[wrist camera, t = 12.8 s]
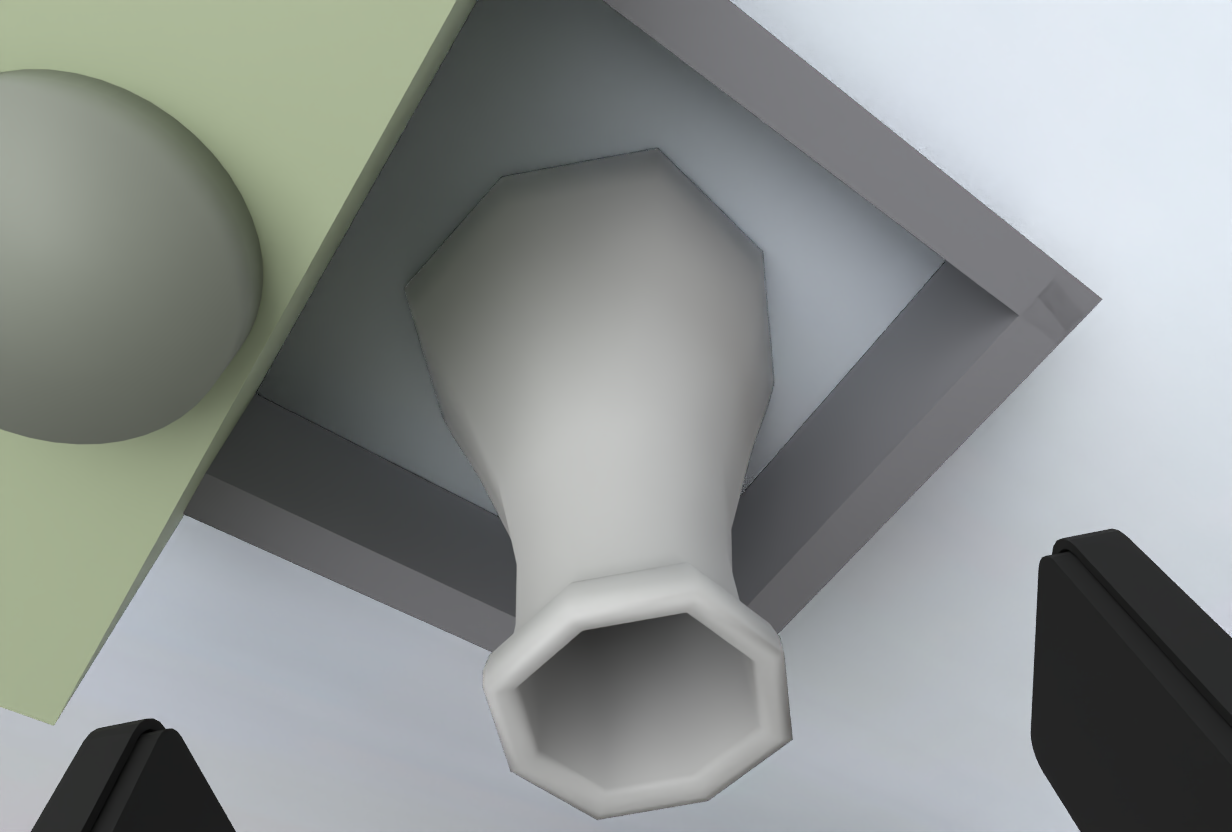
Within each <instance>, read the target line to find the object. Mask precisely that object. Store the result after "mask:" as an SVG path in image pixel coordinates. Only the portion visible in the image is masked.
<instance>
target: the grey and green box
mask: <svg viewBox="0 0 1232 832" xmlns="http://www.w3.org/2000/svg"><path fill="white" fill-rule="evenodd" d="M603 1H604V2H605V3H607V4H608V5H609V6H611V7H612V8H613V9H615V10H616V11H617V12H619V13H620V14H621V15H622V16H624V17H625V18H626V19H628V20H629V21H630V22H632V23H633V24H634V25H636V26H637V27H638V28H640V29H641V30H642V31H644V32H645V33H646V34H648V35H649V36H650V37H652V38H653V39H654V40H656V41H657V42H658V43H660V44H661V45H662V46H663V47H665V48H666V49H667V50H669V51H670V52H671V53H673V54H674V55H675V56H677V57H678V58H679V59H681V60H682V61H683V62H685V63H686V64H687V65H689V66H690V67H691V68H693V69H694V70H695V71H697V72H698V73H699V74H701V75H702V76H703V77H704V78H706V79H707V80H708V81H710V82H711V83H712V84H714V85H715V86H716V87H718V88H719V89H720V90H722V91H723V92H724V93H726V94H727V95H728V96H730V97H731V98H732V99H734V100H735V101H736V102H738V103H739V104H740V105H742V106H743V107H744V108H745V109H747V110H748V111H749V112H751V113H752V114H753V115H755V116H756V117H757V118H759V119H760V120H761V121H763V122H764V123H765V124H767V125H768V126H769V127H771V128H772V129H773V130H775V131H776V132H777V133H779V134H780V135H781V136H782V137H784V138H785V139H786V140H788V141H789V142H790V143H792V144H793V145H794V146H796V147H797V148H798V149H800V150H801V151H802V152H804V153H805V154H806V155H808V156H809V157H810V158H812V159H813V160H814V161H816V162H817V163H818V164H820V165H821V166H822V167H823V168H825V169H826V170H827V171H829V172H830V173H831V174H833V175H834V176H835V177H837V178H838V179H839V180H841V181H842V182H843V183H845V184H846V185H847V186H849V187H850V188H851V189H853V190H854V191H855V192H857V193H858V194H859V195H861V196H862V197H863V198H864V199H866V200H867V201H868V202H870V203H871V204H872V205H874V206H875V207H876V208H878V209H879V210H880V211H882V212H883V213H884V214H886V215H887V216H888V217H890V218H891V219H892V220H894V221H895V222H896V223H898V224H899V225H900V226H902V227H903V228H904V229H905V230H907V231H908V232H909V233H911V234H912V235H913V236H915V237H916V238H917V239H919V240H920V241H921V242H923V243H924V244H925V245H927V246H928V247H929V248H931V249H932V250H933V251H935V252H936V253H937V254H939V255H940V256H941V257H942V258H944V259H945V260H946V261H945V263H944V264H943V265H942V266H941V267H940V268H939V269H938V271H937V272H936V273H935V274H934V275H933V276H932V277H931V279H930V280H929V281H928V282H927V283H926V284H925V285H924V287H923V288H922V289H921V290H920V291H919V292H918V294H917V295H916V296H915V297H914V298H913V299H912V300H911V302H910V303H909V304H908V305H907V306H906V307H905V308H904V310H903V311H902V312H901V313H900V314H899V315H898V316H897V318H896V319H895V320H894V321H893V322H892V323H891V324H890V326H889V327H888V328H887V329H886V330H885V331H884V332H883V334H882V335H881V336H880V337H879V338H878V339H877V340H876V342H875V343H874V344H873V345H872V346H871V347H870V348H869V350H868V351H867V352H866V353H865V354H864V355H863V357H862V358H861V359H860V360H859V361H858V362H857V363H856V365H855V366H854V367H853V368H852V369H851V370H850V371H849V373H848V374H847V375H846V376H845V377H844V378H843V379H842V381H841V382H840V383H839V384H838V385H837V386H836V387H835V389H834V390H833V391H832V392H831V393H830V394H829V395H828V397H827V398H826V399H825V400H824V401H823V402H822V403H821V405H820V406H819V407H818V408H817V409H816V410H815V411H814V413H813V414H812V415H811V416H810V417H809V418H808V420H807V421H806V422H805V423H804V424H803V425H802V426H801V428H800V429H799V430H798V431H797V432H796V433H795V434H794V436H793V437H792V438H791V439H790V440H789V441H788V442H787V444H786V445H785V446H784V447H783V448H782V449H781V450H780V452H779V453H778V454H777V455H776V456H775V457H774V458H773V460H772V461H771V462H770V463H769V464H768V465H767V466H766V468H765V469H764V470H763V471H762V472H761V473H760V474H759V476H758V477H757V478H756V479H755V480H754V481H753V483H752V484H751V485H750V486H749V487H748V488H747V489H746V491H745V492H744V493H743V494H742V495H741V496H740V498H739V502H738V505H737V509H736V513H735V517H734V521H733V525H732V529H731V537H732V573H733V577H734V581H735V585H736V589H737V592H738V596H739V600H740V602H742V603H743V604H744V605H746V606H747V607H748V608H750V609H751V610H752V611H754V612H755V613H756V614H758V615H759V616H760V617H762V618H763V619H764V620H766V621H767V622H768V623H770V624H771V626H772V627H773V629H774V630H775V631H776V633H777V634H778V633H779V632H780V631H781V630H782V629H783V628H784V627H785V626H786V625H787V624H788V623H789V622H790V621H791V620H792V619H793V618H794V617H795V616H796V615H797V614H798V613H799V612H800V611H801V609H802V608H803V607H804V606H805V605H806V604H807V603H808V602H809V601H810V600H811V599H812V598H813V597H814V596H815V595H816V594H817V593H818V592H819V591H820V590H821V589H822V588H823V587H824V586H825V585H826V584H827V583H828V582H829V581H830V580H831V579H832V578H833V577H834V575H835V574H836V573H837V572H838V571H839V570H840V569H841V568H842V567H843V566H844V565H845V564H846V563H847V562H848V561H849V560H850V559H851V558H852V557H853V556H854V555H855V554H856V553H857V552H858V551H859V550H860V549H861V548H862V547H863V546H864V545H865V544H866V542H867V541H868V540H869V539H870V538H871V537H872V536H873V535H874V534H875V533H876V532H877V531H878V530H879V529H880V528H881V527H882V526H883V525H884V524H885V523H886V522H887V521H888V520H889V519H890V518H891V517H892V516H893V515H894V514H895V513H896V512H897V511H898V510H899V508H900V507H901V506H902V505H903V504H904V503H905V502H906V501H907V500H908V499H909V498H910V497H911V496H912V495H913V494H914V493H915V492H916V491H917V490H918V489H919V488H920V487H921V486H922V485H923V484H924V483H925V482H926V481H927V480H928V479H929V478H930V477H931V475H932V474H933V473H934V472H935V471H936V470H937V469H938V468H939V467H940V466H941V465H942V464H943V463H944V462H945V461H946V460H947V459H948V458H949V457H950V456H951V455H952V454H953V453H954V452H955V451H956V450H957V449H958V448H959V447H960V446H961V445H962V444H963V443H964V441H965V440H966V439H967V438H968V437H969V436H970V435H971V434H972V433H973V432H974V431H975V430H976V429H977V428H978V427H979V426H980V425H981V424H982V423H983V422H984V421H985V420H986V419H987V418H988V417H989V416H990V415H991V414H992V413H993V412H994V411H995V410H996V408H997V407H998V406H999V405H1000V404H1001V403H1002V402H1003V401H1004V400H1005V399H1006V398H1007V397H1008V396H1009V395H1010V394H1011V393H1012V392H1013V391H1014V390H1015V389H1016V388H1017V387H1018V386H1019V385H1020V384H1021V383H1022V382H1023V381H1024V380H1025V379H1026V378H1027V377H1028V376H1029V374H1030V373H1031V372H1032V371H1033V370H1034V369H1035V368H1036V367H1037V366H1038V365H1039V364H1040V363H1041V362H1042V361H1043V360H1044V359H1045V358H1046V357H1047V356H1048V355H1049V354H1050V353H1051V352H1052V351H1053V350H1054V349H1055V348H1056V347H1057V346H1058V345H1059V344H1060V343H1061V341H1062V340H1063V339H1064V338H1065V337H1066V336H1067V335H1068V334H1069V333H1070V332H1071V331H1072V330H1073V329H1074V328H1075V327H1076V326H1077V325H1078V324H1079V323H1080V322H1081V321H1082V320H1083V319H1084V318H1085V317H1086V316H1087V315H1088V314H1089V313H1090V312H1091V311H1092V310H1093V309H1094V307H1095V306H1096V305H1097V304H1098V303H1099V302H1100V301H1101V300H1102V298H1100V297H1099V296H1098V295H1097V294H1095V293H1094V292H1093V291H1092V290H1090V289H1089V288H1088V287H1087V286H1085V285H1084V284H1083V283H1082V282H1080V281H1079V280H1078V279H1077V278H1075V277H1074V276H1073V275H1072V274H1070V273H1069V272H1068V271H1067V270H1065V269H1064V268H1063V267H1062V266H1060V265H1059V264H1058V263H1057V262H1055V261H1054V260H1053V259H1052V258H1050V257H1049V256H1048V255H1047V254H1045V253H1044V252H1043V251H1042V250H1040V249H1039V248H1038V247H1037V246H1035V245H1034V244H1033V243H1032V242H1030V241H1029V240H1028V239H1027V238H1025V237H1024V236H1023V235H1022V234H1020V233H1019V232H1018V231H1017V230H1015V229H1014V228H1013V227H1012V226H1010V225H1009V224H1008V223H1007V222H1005V221H1004V220H1003V219H1002V218H1000V217H999V216H998V215H997V214H995V213H994V212H993V211H992V210H990V209H989V208H988V207H987V206H985V205H984V204H983V203H982V202H980V201H979V200H978V199H977V198H975V197H974V196H973V195H972V194H971V193H969V192H968V191H967V190H966V189H964V188H963V187H962V186H961V185H959V184H958V183H957V182H956V181H954V180H953V179H952V178H951V177H949V176H948V175H947V174H946V173H944V172H943V171H942V170H941V169H939V168H938V167H937V166H936V165H934V164H933V163H932V162H931V161H929V160H928V159H927V158H926V157H924V156H923V155H922V154H921V153H919V152H918V151H917V150H916V149H914V148H913V147H912V146H911V145H909V144H908V143H907V142H906V141H904V140H903V139H902V138H901V137H899V136H898V135H897V134H896V133H894V132H893V131H892V130H891V129H889V128H888V127H887V126H886V125H884V124H883V123H882V122H881V121H879V120H878V119H877V118H876V117H874V116H873V115H872V114H871V113H869V112H868V111H867V110H866V109H864V108H863V107H862V106H861V105H859V104H858V103H857V102H856V101H854V100H853V99H852V98H851V97H849V96H848V95H847V94H846V93H844V92H843V91H842V90H841V89H839V88H838V87H837V86H836V85H834V84H833V83H832V82H831V81H829V80H828V79H827V78H826V77H824V76H823V75H822V74H821V73H819V72H818V71H817V70H816V69H814V68H813V67H812V66H811V65H809V64H808V63H807V62H806V61H804V60H803V59H802V58H801V57H799V56H798V55H797V54H796V53H794V52H793V51H792V50H791V49H789V48H788V47H787V46H786V45H784V44H783V43H782V42H781V41H779V40H778V39H777V38H776V37H775V36H773V35H772V34H771V33H770V32H768V31H767V30H766V29H765V28H763V27H762V26H761V25H760V24H758V23H757V22H756V21H755V20H753V19H752V18H751V17H750V16H748V15H747V14H746V13H745V12H743V11H742V10H741V9H740V8H738V7H737V6H736V5H735V4H733V3H732V2H731V1H730V0H603ZM476 2H477V0H0V707H2V708H5V709H8V710H11V711H14V712H17V713H19V714H22V715H25V716H28V717H31V718H34V719H36V720H39V721H42V722H45V723H48V724H51V725H55V723H56V721H57V720H58V718H59V717H60V715H61V713H62V712H63V710H64V708H65V707H66V705H67V704H68V702H69V700H70V699H71V697H72V695H73V694H74V692H75V691H76V689H77V687H78V686H79V684H80V683H81V681H82V679H83V678H84V676H85V674H86V673H87V671H88V670H89V668H90V666H91V665H92V663H93V662H94V660H95V658H96V657H97V655H98V653H99V652H100V650H101V649H102V647H103V645H104V644H105V642H106V640H107V639H108V637H109V636H110V634H111V632H112V631H113V629H114V628H115V626H116V624H117V623H118V621H119V619H120V618H121V616H122V615H123V613H124V611H125V610H126V608H127V607H128V605H129V603H130V602H131V600H132V598H133V597H134V595H135V594H136V592H137V590H138V589H139V587H140V585H141V584H142V582H143V581H144V579H145V577H146V576H147V574H148V573H149V571H150V569H151V568H152V566H153V564H154V563H155V561H156V560H157V558H158V556H159V555H160V553H161V552H162V550H163V548H164V547H165V545H166V543H167V542H168V540H169V539H170V537H171V535H172V534H173V532H174V530H175V529H176V527H177V526H178V524H179V522H180V521H181V519H182V518H183V516H184V514H185V515H187V516H189V517H191V518H194V519H196V520H198V521H200V522H203V523H205V524H207V525H209V526H212V527H214V528H216V529H218V530H221V531H223V532H225V533H227V534H229V535H232V536H234V537H236V538H238V539H241V540H243V541H245V542H247V543H250V544H252V545H254V546H256V547H258V548H261V549H263V550H265V551H267V552H270V553H272V554H274V555H276V556H279V557H281V558H283V559H285V560H288V561H290V562H292V563H294V564H296V565H299V566H301V567H303V568H305V569H308V570H310V571H312V572H314V573H317V574H319V575H321V576H323V577H326V578H328V579H330V580H332V581H334V582H337V583H339V584H341V585H343V586H346V587H348V588H350V589H352V590H355V591H357V592H359V593H361V594H364V595H366V596H368V597H370V598H372V599H375V600H377V601H379V602H381V603H384V604H386V605H388V606H390V607H393V608H395V609H397V610H399V611H402V612H404V613H406V614H408V615H410V616H413V617H415V618H417V619H419V620H422V621H424V622H426V623H428V624H431V625H433V626H435V627H437V628H439V629H442V630H444V631H446V632H448V633H451V634H453V635H455V636H457V637H460V638H462V639H464V640H466V641H469V642H471V643H473V644H475V645H477V646H480V647H482V648H484V649H486V650H489V651H491V652H493V651H494V650H496V649H497V648H498V647H499V646H500V645H501V644H502V643H503V642H505V641H506V640H507V639H508V638H509V637H510V636H511V635H512V634H514V629H515V625H516V580H517V563H516V559H515V554H514V550H513V546H512V541H511V538H510V536H509V534H508V532H507V531H506V529H505V527H504V525H503V523H502V521H501V519H500V517H498V516H496V515H494V514H492V513H490V512H488V511H486V510H484V509H482V508H480V507H478V506H476V505H474V504H472V503H470V502H468V501H466V500H464V499H462V498H460V497H458V496H456V495H454V494H452V493H450V492H448V491H446V490H444V489H442V488H440V487H438V486H437V485H435V484H433V483H431V482H429V481H427V480H425V479H423V478H421V477H419V476H417V475H415V474H413V473H411V472H409V471H407V470H405V469H403V468H401V467H399V466H397V465H395V464H393V463H391V462H389V461H387V460H385V459H383V458H381V457H379V456H377V455H375V454H373V453H371V452H369V451H367V450H365V449H363V448H361V447H359V446H357V445H355V444H353V443H351V442H349V441H348V440H346V439H344V438H342V437H340V436H338V435H336V434H334V433H332V432H330V431H328V430H326V429H324V428H322V427H320V426H318V425H316V424H314V423H312V422H310V421H308V420H306V419H304V418H302V417H300V416H298V415H296V414H294V413H292V412H290V411H288V410H286V409H284V408H282V407H280V406H278V405H276V404H274V403H272V402H270V401H268V400H266V399H264V398H262V397H261V396H259V395H257V394H255V393H256V391H257V390H258V388H259V386H260V384H261V383H262V381H263V379H264V377H265V375H266V374H267V372H268V370H269V368H270V367H271V365H272V363H273V361H274V359H275V358H276V356H277V354H278V352H279V351H280V349H281V347H282V345H283V344H284V342H285V340H286V338H287V336H288V335H289V333H290V331H291V329H292V328H293V326H294V324H295V322H296V321H297V319H298V317H299V315H300V313H301V312H302V310H303V308H304V306H305V305H306V303H307V301H308V299H309V297H310V296H311V294H312V292H313V290H314V289H315V287H316V285H317V283H318V282H319V280H320V278H321V276H322V274H323V273H324V271H325V269H326V267H327V266H328V264H329V262H330V260H331V258H332V257H333V255H334V253H335V251H336V250H337V248H338V246H339V244H340V243H341V241H342V239H343V237H344V235H345V234H346V232H347V230H348V228H349V227H350V225H351V223H352V221H353V219H354V218H355V216H356V214H357V212H358V211H359V209H360V207H361V205H362V204H363V202H364V200H365V198H366V196H367V195H368V193H369V191H370V189H371V188H372V186H373V184H374V182H375V181H376V179H377V177H378V175H379V173H380V172H381V170H382V168H383V166H384V165H385V163H386V161H387V159H388V157H389V156H390V154H391V152H392V150H393V149H394V147H395V145H396V143H397V142H398V140H399V138H400V136H401V134H402V133H403V131H404V129H405V127H406V126H407V124H408V122H409V120H410V118H411V117H412V115H413V113H414V111H415V110H416V108H417V106H418V104H419V103H420V101H421V99H422V97H423V95H424V94H425V92H426V90H427V88H428V87H429V85H430V83H431V81H432V79H433V78H434V76H435V74H436V72H437V71H438V69H439V67H440V65H441V64H442V62H443V60H444V58H445V56H446V55H447V53H448V51H449V49H450V48H451V46H452V44H453V42H454V40H455V39H456V37H457V35H458V33H459V32H460V30H461V28H462V26H463V25H464V23H465V21H466V19H467V17H468V16H469V14H470V12H471V10H472V9H473V7H474V5H475V3H476Z"/></svg>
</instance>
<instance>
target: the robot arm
mask: <svg viewBox="0 0 1232 832" xmlns="http://www.w3.org/2000/svg"><path fill="white" fill-rule="evenodd" d="M1031 741H1032V746H1033V750H1034V753H1035V756H1036V759H1037V761H1038V763H1039V765H1040V767H1041V769H1042V771H1043V773H1044V774H1045V776H1046V777H1047V779H1048V781H1049V782H1050V784H1051V785H1052V787H1053V789H1054V790H1055V792H1056V793H1057V795H1058V797H1059V798H1060V800H1061V801H1062V803H1063V805H1064V806H1065V808H1066V809H1067V811H1068V813H1069V814H1070V816H1071V817H1072V819H1073V821H1074V822H1075V824H1076V825H1077V827H1078V829H1079V830H1080V832H1232V638H1231V637H1230V636H1229V635H1228V634H1227V633H1226V632H1225V631H1224V630H1223V629H1222V628H1221V627H1220V626H1219V625H1218V624H1217V623H1216V622H1215V621H1214V620H1213V619H1212V618H1211V617H1210V616H1209V615H1207V614H1206V613H1205V612H1204V611H1203V610H1202V609H1201V608H1200V607H1199V606H1198V605H1197V604H1196V603H1195V602H1194V601H1193V600H1192V599H1191V598H1190V597H1189V596H1188V595H1187V594H1186V593H1185V592H1184V591H1183V590H1182V589H1181V588H1180V587H1179V586H1178V585H1177V584H1176V583H1175V582H1173V581H1172V580H1171V579H1170V578H1169V577H1168V576H1167V575H1166V574H1165V573H1164V572H1163V571H1162V570H1161V569H1160V568H1159V567H1158V566H1157V565H1156V564H1155V563H1154V562H1153V561H1152V560H1151V559H1150V558H1149V557H1148V556H1147V555H1146V554H1145V553H1144V552H1143V551H1142V550H1140V549H1139V548H1138V547H1137V546H1136V545H1135V544H1134V543H1133V542H1132V541H1131V540H1130V539H1129V538H1128V537H1127V536H1126V535H1125V534H1123V533H1122V532H1120V531H1119V530H1115V529H1108V530H1103V531H1098V532H1093V533H1087V534H1082V535H1077V536H1072V537H1067V538H1062V539H1060V540H1057V541H1056V543H1055V545H1054V546H1053V552H1052V555H1048V556H1045V557H1042V559H1041V560H1040V563H1039V571H1038V592H1037V613H1036V634H1035V655H1034V676H1033V697H1032V717H1031ZM31 832H236V831H235V829H234V828H233V826H232V824H231V822H230V821H229V819H228V817H227V815H226V814H225V812H224V810H223V809H222V807H221V805H220V803H219V802H218V800H217V798H216V796H215V795H214V793H213V791H212V789H211V788H210V786H209V784H208V782H207V781H206V779H205V777H204V775H203V774H202V772H201V770H200V768H199V767H198V765H197V763H196V761H195V760H194V758H193V756H192V754H191V753H190V751H189V749H188V747H187V746H186V744H185V742H184V740H183V739H182V737H181V736H180V734H179V733H178V732H177V731H176V730H174V729H165V728H164V726H163V725H162V724H161V723H160V722H159V721H157V720H155V719H143V720H138V721H133V722H128V723H123V724H117V725H112V726H107V727H102V728H98V729H96V730H94V731H93V732H91V733H90V734H89V735H88V736H87V738H86V739H85V740H84V742H83V743H82V745H81V747H80V748H79V750H78V752H77V754H76V755H75V757H74V759H73V760H72V762H71V764H70V766H69V767H68V769H67V771H66V772H65V774H64V776H63V778H62V779H61V781H60V783H59V784H58V786H57V788H56V790H55V791H54V793H53V795H52V796H51V798H50V800H49V802H48V803H47V805H46V807H45V808H44V810H43V812H42V814H41V815H40V817H39V819H38V820H37V822H36V824H35V826H34V827H33V829H32V831H31Z"/></svg>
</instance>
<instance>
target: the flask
mask: <svg viewBox="0 0 1232 832" xmlns="http://www.w3.org/2000/svg"><path fill="white" fill-rule="evenodd" d="M404 291H405V294H406V297H407V301H408V304H409V307H410V311H411V314H412V317H413V321H414V324H415V327H416V331H417V334H418V337H419V341H420V344H421V347H422V351H423V354H424V357H425V361H426V364H427V367H428V371H429V374H430V377H431V380H432V384H433V387H434V390H435V394H436V397H437V400H438V404H439V407H440V410H441V414H442V417H443V419H444V421H445V423H446V425H447V427H448V429H449V430H450V432H451V434H452V436H453V437H454V439H455V441H456V442H457V444H458V445H459V447H460V449H461V450H462V452H463V453H464V455H465V456H466V458H467V460H468V461H469V463H470V464H471V466H472V468H473V469H474V471H475V472H476V474H477V476H478V477H479V479H480V480H481V482H482V484H483V486H484V488H485V490H486V492H487V494H488V496H489V498H490V500H491V502H492V504H493V505H494V507H495V509H496V511H497V513H498V515H499V517H500V519H501V521H502V523H503V525H504V527H505V529H506V531H507V532H508V534H509V536H510V538H511V541H512V546H513V550H514V554H515V559H516V563H517V580H516V625H515V629H514V634H512V635H511V636H510V637H509V638H508V639H507V640H506V641H505V642H503V643H502V644H501V645H500V646H499V647H498V648H497V649H496V650H494V651H493V652H492V653H491V654H490V655H489V658H488V660H487V662H486V665H485V667H484V669H483V689H484V692H485V695H486V698H487V701H488V704H489V707H490V710H491V713H492V717H493V720H494V723H495V726H496V729H497V732H498V735H499V738H500V741H501V744H502V747H503V750H504V753H505V756H506V759H507V762H508V765H509V768H510V771H511V772H513V773H515V774H516V775H518V776H520V777H522V778H523V779H525V780H527V781H529V782H531V783H532V784H534V785H536V786H538V787H539V788H541V789H543V790H545V791H547V792H548V793H550V794H552V795H554V796H555V797H557V798H559V799H561V800H563V801H564V802H566V803H568V804H570V805H571V806H573V807H575V808H577V809H579V810H580V811H582V812H584V813H586V814H587V815H589V816H591V817H593V818H595V819H596V820H599V819H605V818H611V817H617V816H623V815H628V814H634V813H640V812H646V811H652V810H658V809H664V808H670V807H676V806H681V805H687V804H693V803H699V802H705V801H709V800H710V799H711V798H713V797H714V796H716V795H717V794H718V793H720V792H721V791H722V790H724V789H725V788H727V787H728V786H729V785H731V784H732V783H733V782H735V781H736V780H738V779H739V778H740V777H742V776H743V775H744V774H746V773H747V772H749V771H750V770H751V769H753V768H754V767H755V766H757V765H758V764H760V763H761V762H762V761H764V760H765V759H766V758H768V757H769V756H771V755H772V754H773V753H775V752H776V751H777V750H779V749H780V748H782V747H783V746H784V745H786V744H787V743H788V742H790V741H791V740H793V738H792V728H791V718H790V708H789V698H788V688H787V678H786V668H785V658H784V651H783V647H782V643H781V639H780V637H779V635H778V634H777V633H776V631H775V630H774V629H773V627H772V626H771V624H770V623H768V622H767V621H766V620H764V619H763V618H762V617H760V616H759V615H758V614H756V613H755V612H754V611H752V610H751V609H750V608H748V607H747V606H746V605H744V604H743V603H742V602H740V600H739V596H738V592H737V589H736V585H735V581H734V577H733V573H732V537H731V529H732V525H733V521H734V517H735V513H736V509H737V505H738V502H739V498H740V494H741V490H742V486H743V482H744V478H745V475H746V471H747V467H748V463H749V459H750V455H751V452H752V449H753V446H754V443H755V440H756V437H757V434H758V432H759V429H760V426H761V423H762V420H763V418H764V415H765V412H766V409H767V406H768V403H769V401H770V397H771V393H772V389H773V386H774V374H773V362H772V351H771V340H770V328H769V317H768V306H767V294H766V283H765V272H764V260H763V251H761V250H760V249H759V248H758V247H757V246H756V245H755V244H754V243H753V242H752V241H751V240H750V239H749V238H748V237H747V236H746V235H745V234H744V233H743V232H742V231H741V230H740V229H739V228H738V227H737V226H736V225H735V224H734V223H733V222H732V221H731V220H730V219H729V218H728V217H727V216H726V215H725V214H724V213H723V212H722V211H721V210H720V209H719V208H718V207H717V206H716V205H715V204H714V203H713V202H712V201H711V200H710V199H709V198H708V197H707V196H706V195H705V194H704V193H703V192H702V191H701V190H700V189H699V188H698V187H697V186H696V185H695V184H694V183H693V182H692V181H691V180H690V179H689V178H688V177H687V176H685V175H684V174H683V173H682V172H681V171H680V170H679V169H678V168H677V167H676V166H675V165H674V164H673V163H672V162H671V161H670V160H669V159H668V158H667V157H666V156H665V155H664V154H663V153H662V152H661V151H660V150H659V149H658V148H655V149H650V150H645V151H639V152H634V153H628V154H623V155H618V156H612V157H607V158H601V159H596V160H591V161H585V162H580V163H574V164H569V165H564V166H558V167H553V168H547V169H542V170H537V171H531V172H526V173H520V174H515V175H510V176H504V177H501V178H500V179H499V180H498V181H497V183H496V184H495V185H494V186H493V187H492V188H491V189H490V191H489V192H488V193H487V194H486V195H485V196H484V197H483V199H482V200H481V201H480V202H479V203H478V204H477V205H476V207H475V208H474V209H473V210H472V211H471V212H470V213H469V214H468V216H467V217H466V218H465V219H464V220H463V221H462V222H461V224H460V225H459V226H458V227H457V228H456V229H455V230H454V232H453V233H452V234H451V235H450V236H449V237H448V238H447V240H446V241H445V242H444V243H443V244H442V245H441V246H440V247H439V249H438V250H437V251H436V252H435V253H434V254H433V255H432V257H431V258H430V259H429V260H428V261H427V262H426V263H425V265H424V266H423V267H422V268H421V269H420V270H419V271H418V273H417V274H416V275H415V276H414V277H413V278H412V279H411V280H410V282H409V283H408V284H407V285H406V286H405V287H404Z"/></svg>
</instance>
